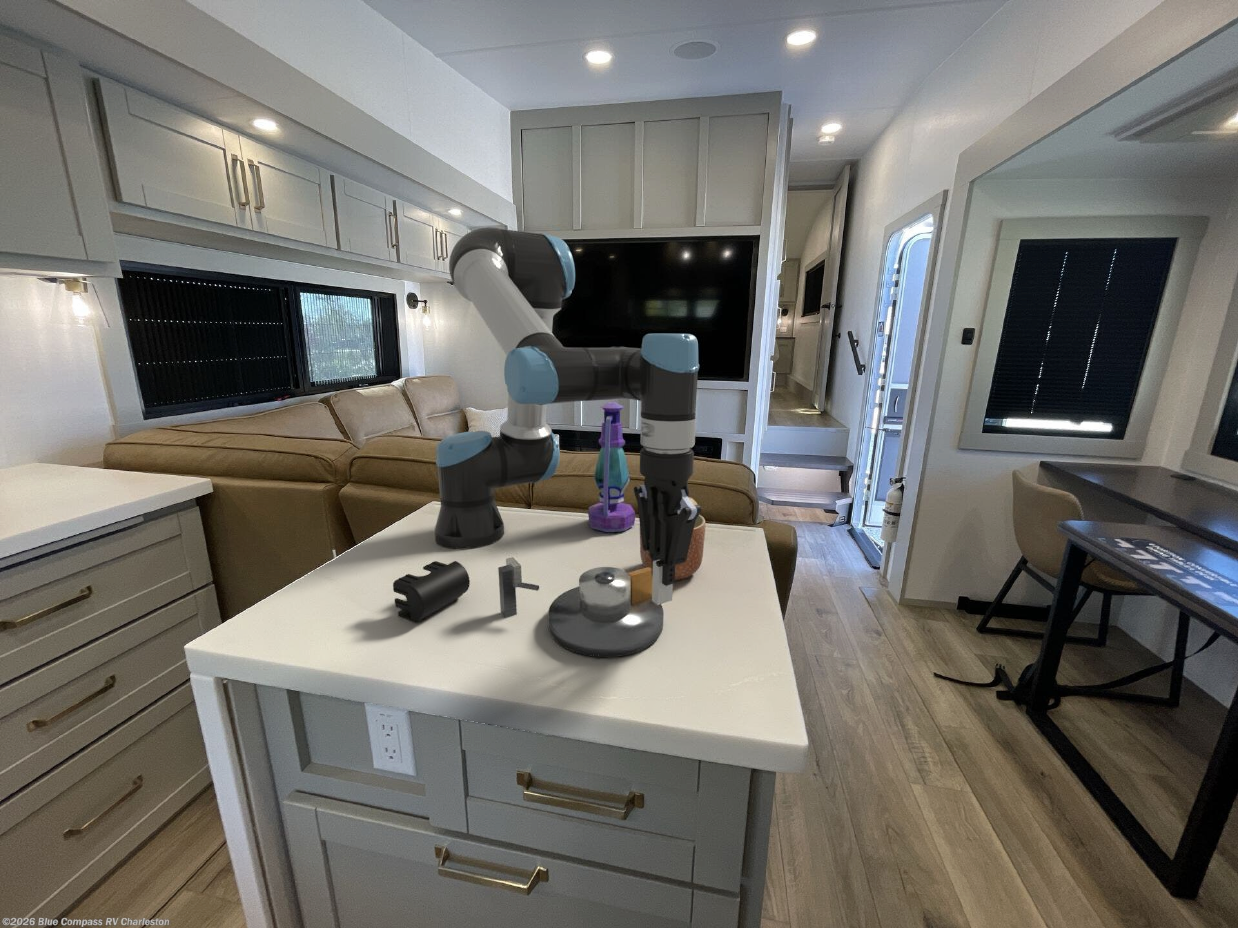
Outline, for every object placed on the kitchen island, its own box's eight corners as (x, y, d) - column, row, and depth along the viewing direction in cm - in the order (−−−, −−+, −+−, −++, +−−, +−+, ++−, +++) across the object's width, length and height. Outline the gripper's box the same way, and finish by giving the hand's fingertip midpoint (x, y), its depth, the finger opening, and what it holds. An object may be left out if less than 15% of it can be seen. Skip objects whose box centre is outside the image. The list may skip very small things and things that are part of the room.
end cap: (425, 629, 76) (421, 589, 74) (394, 617, 79) (389, 579, 77) (471, 600, 84) (469, 564, 83) (442, 590, 87) (439, 555, 86)
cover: (569, 606, 78) (568, 576, 76) (608, 588, 83) (607, 559, 81) (602, 628, 72) (601, 595, 70) (641, 607, 77) (641, 577, 76)
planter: (686, 593, 87) (689, 536, 84) (626, 576, 93) (627, 522, 91) (712, 567, 97) (715, 515, 94) (657, 553, 103) (658, 504, 101)
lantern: (594, 514, 126) (594, 397, 119) (639, 517, 124) (641, 399, 117) (580, 533, 114) (579, 404, 106) (630, 537, 111) (632, 406, 104)
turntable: (530, 611, 80) (529, 571, 78) (623, 583, 89) (623, 548, 88) (582, 672, 65) (581, 626, 64) (686, 632, 75) (688, 590, 73)
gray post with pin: (499, 609, 81) (496, 560, 79) (526, 602, 84) (524, 554, 81) (512, 628, 76) (510, 576, 74) (541, 619, 78) (539, 569, 76)
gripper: (619, 442, 72) (618, 588, 77) (675, 460, 61) (668, 628, 67) (660, 437, 75) (656, 577, 81) (719, 453, 65) (710, 613, 71)
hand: (662, 600), depth 74 cm, fingers closed
